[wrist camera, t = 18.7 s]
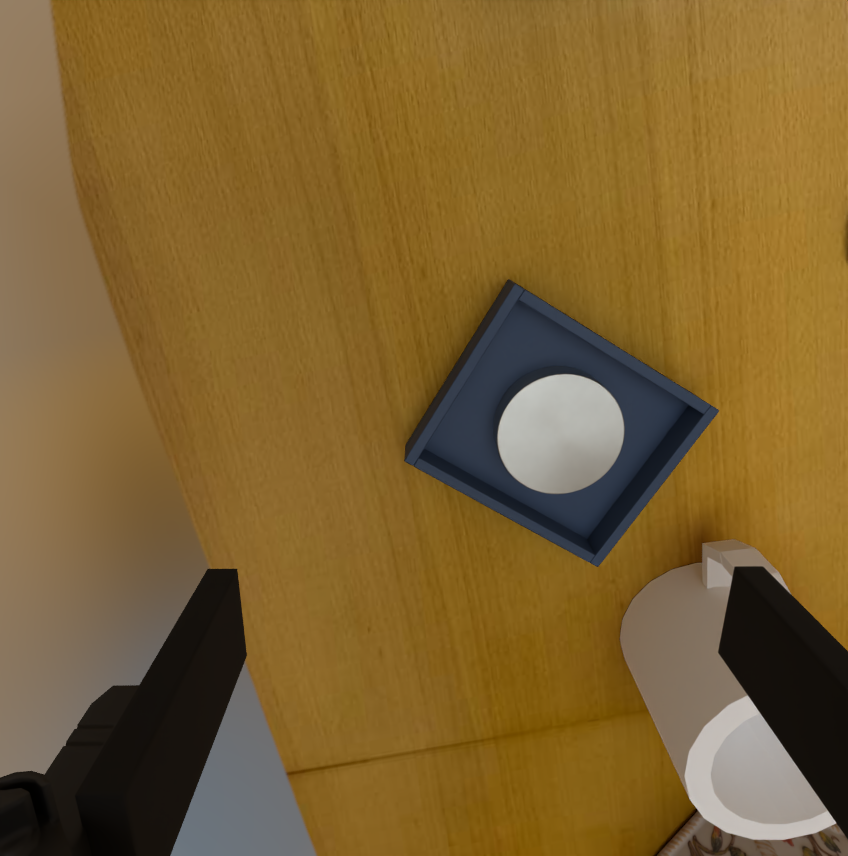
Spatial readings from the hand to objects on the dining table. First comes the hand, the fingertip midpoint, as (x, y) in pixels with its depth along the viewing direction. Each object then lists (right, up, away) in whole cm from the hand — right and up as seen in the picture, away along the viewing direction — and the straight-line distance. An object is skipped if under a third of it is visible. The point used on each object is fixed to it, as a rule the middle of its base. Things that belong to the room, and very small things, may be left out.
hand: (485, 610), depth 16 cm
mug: (+16, -7, +24) cm, 30 cm away
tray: (+6, +5, +20) cm, 21 cm away
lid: (+6, +5, +18) cm, 19 cm away
